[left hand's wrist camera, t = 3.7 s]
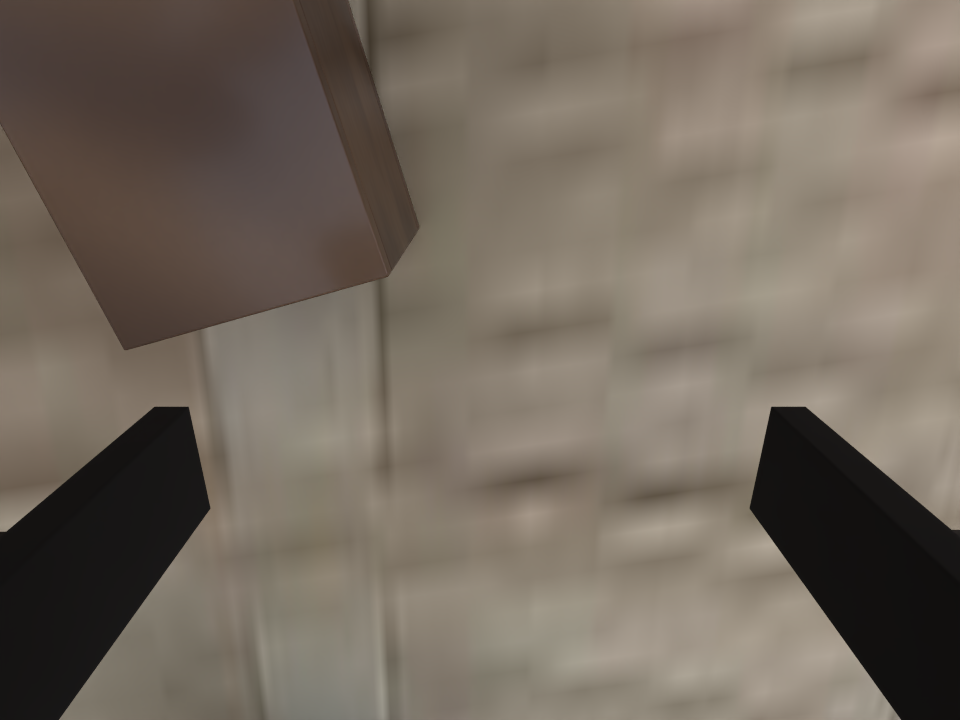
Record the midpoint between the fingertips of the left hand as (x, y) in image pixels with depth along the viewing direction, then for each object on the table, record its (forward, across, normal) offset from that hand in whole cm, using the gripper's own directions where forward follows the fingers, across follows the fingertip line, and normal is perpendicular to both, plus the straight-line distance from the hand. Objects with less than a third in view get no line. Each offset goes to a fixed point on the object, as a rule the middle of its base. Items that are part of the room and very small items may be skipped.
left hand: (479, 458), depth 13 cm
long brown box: (+20, +11, -9) cm, 24 cm away
